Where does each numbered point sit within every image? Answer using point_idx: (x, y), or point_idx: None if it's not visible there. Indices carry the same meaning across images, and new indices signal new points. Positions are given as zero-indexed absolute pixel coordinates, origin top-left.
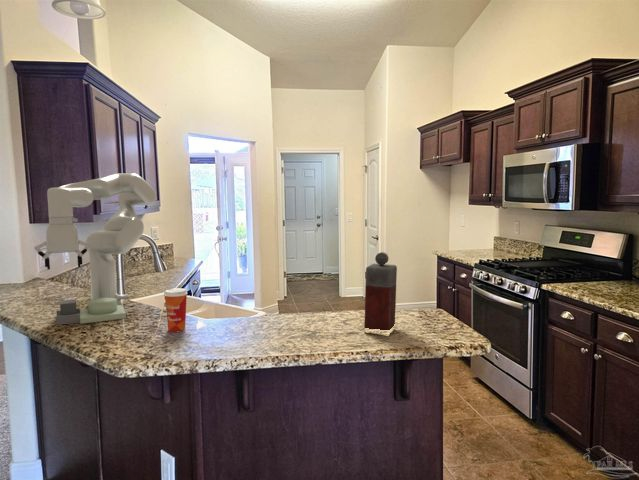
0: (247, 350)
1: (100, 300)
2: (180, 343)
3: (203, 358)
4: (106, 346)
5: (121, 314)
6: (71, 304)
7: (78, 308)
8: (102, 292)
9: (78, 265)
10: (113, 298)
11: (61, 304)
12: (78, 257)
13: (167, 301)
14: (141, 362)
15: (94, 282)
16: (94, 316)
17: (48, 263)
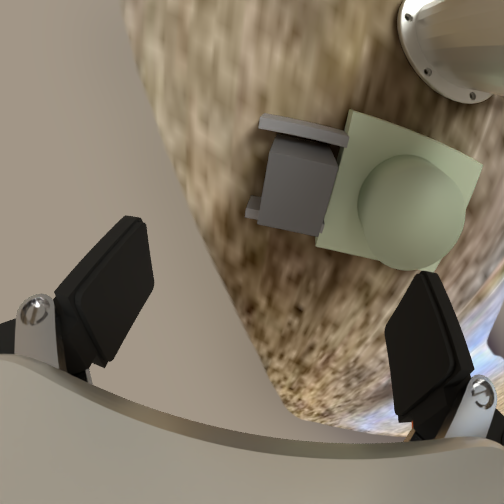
0: (400, 427)
1: (418, 212)
2: (378, 404)
3: (360, 428)
4: (302, 380)
5: (422, 268)
6: (300, 229)
7: (342, 142)
8: (475, 84)
9: (388, 339)
10: (462, 214)
11: (262, 224)
12: (399, 415)
13: (412, 424)
14: (311, 418)
15: (481, 51)
16: (357, 254)
17: (124, 328)
